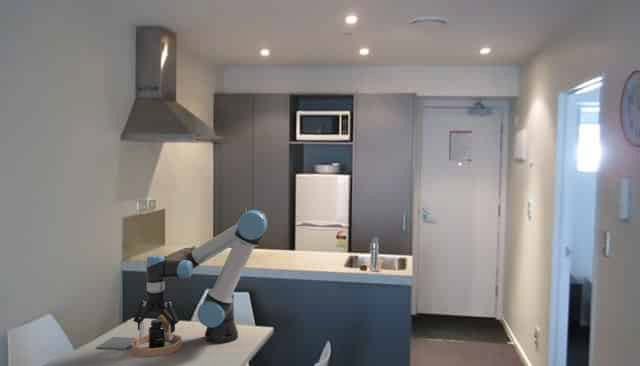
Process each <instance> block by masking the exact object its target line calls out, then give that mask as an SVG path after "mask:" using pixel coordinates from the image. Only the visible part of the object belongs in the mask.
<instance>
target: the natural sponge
mask: <svg viewBox="0 0 640 366" xmlns="http://www.w3.org/2000/svg"><path fill="white" fill-rule="evenodd" d="M169 315H170V314H169ZM170 316H171V315H170ZM156 319H160V320H162V323H163V324H162V326H164V328H165V333H169V325H170V323H169V322H168V321H167V319H166V318H165V317H164V316H163V314H160V315H159V316H158V317H157V318H156Z"/></svg>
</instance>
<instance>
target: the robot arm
mask: <svg viewBox="0 0 640 366" xmlns="http://www.w3.org/2000/svg"><path fill="white" fill-rule="evenodd" d="M270 226H271V216H270V215H269V213H268V212H267V211H266V210H264V209H262V208H259V207H256V208H252V209H250V210H248V211H245V212H244V213H243V214H242V215H241V216H240V217H239V219H238V221H237V223H236V224H234V225H232V226H231V227H228V228H227V229H226V230H224V231H222V232H220V233H219V234H217V235H216V236H214V237H212V238H210V239H209V240H207V241H206V242H204V243H202V244H201V245H199V246H197V247H196V248H194V249H192V250H191V251H189V252H187V253H186V254H184V255H182V256H181V257H179V258H177V259H175V260H173V259H171V260H170V259H169V260H167V259H165V256H164V255H163V254H153V255H149V256H148V257H147V258H146V265H145V266H146V291H147V292H146V299H147V301H146V300H142V301H140V302H139V307H138V309H137V311H136V313H135V316H134V318H133V322H135V323H137V330H138V331H139V337H140V339H142V338H143V337H144V336H145V322H144V320H145V319H146V318H147V316H149V314H150V312H151V313H160V315H162V314H163V316H164V317H165V318H166V319H167V321H168V322H169V323H170V325H169V340H172V339H173V334H174V332H175V331H176V325H177V324H179V323H180V320H179V317H178V315H177V314H176V311H175V310H174V309H175V308H174V307H173V302H172V301H167V302H166V300H165V299H166V295H165V294H166V292H165V289H166V288H165V286H166V284H165V280H166V279H165V278H168V279H169V278H172V279H174V278H175V279H177V278H178V279H185V278H187V279H188V278H190V277H191V276H192V274H193V270H194V269H195V268H198V267H199V266H200V265H202V264H204V263H205V262H207V261H208V260H211V259H212V258H214V257H216V256H217V255H220V253H223V252H224V251H226V250H227V249H229V248H231V249H230V251H229V253H228V255H227V257H226V260H225V261H224V264H223V266H222V269H221V270H220V273H219V275H218V277H217V279H216V282H215V284H214V286H213V288H210V289H208V291H207V293H206V295H205V297H204V299H203V302H202V303H201V304H200V305H199V306H198V309H197V314H196V315H197V319H198V321H199V322H200V323H201V324H202V325H203V326H205V327H206V329H205V333H204V340H205V342H208V343H212V344H226V343H231V342H233V341H236V340H237V339H238V338H239V332H238V329H237V325H236V323H235V310H234V309H235V308H234V307H235V305H234V304H235V303H234V302H235V301H234V297H235V295H234V291H235V289H236V287H237V285H238V283H239V281H240V278H241V277H242V274H243V272H244V270H245V268H246V265H247V263H248V261H249V260H250V256H251V255H252V253H253V250H254V248H255V247H258V246H260V243H261V241H262V239H263V238H264V235H265V232H267V231H268V229H269V228H270ZM145 307H147V309H146V310H145V311H144V308H145ZM166 308H167V309H166ZM143 311H144V313H143ZM142 313H143V314H142ZM170 315H171V316H170ZM169 340H168V341H169Z"/></svg>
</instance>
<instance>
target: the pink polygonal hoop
mask: <svg viewBox="0 0 640 366" xmlns="http://www.w3.org/2000/svg"><path fill="white" fill-rule="evenodd" d="M135 338H136V339H135V340H133V341H132V342H131V344H132V346H131V353H132V354H134V355H137V356H139V357H158V356H165V355H169V354H173V353H175V352H177V351H178V350H180V349H181V348H182V347H183V338H182V336H181V335H179V334H176V333H173V339H172V340H169V333H165V341H170V342H175V343H173V344H169V345H167V346H166V345H165V347H161V348H153V349H150V348H149V347H148V348H146V347H140V345H142V344H147V343H149V334H144V337H143V338H142V339H140V336H138V337H135Z"/></svg>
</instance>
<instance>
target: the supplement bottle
mask: <svg viewBox="0 0 640 366" xmlns="http://www.w3.org/2000/svg"><path fill="white" fill-rule="evenodd" d="M162 324H163V323H162V320H160V319H157V318H156V319H152V320H151V321H150V327H148V335H149V342H148V348H150V349H153V348H161V347H166V340H165V328H164V326H162Z"/></svg>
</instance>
